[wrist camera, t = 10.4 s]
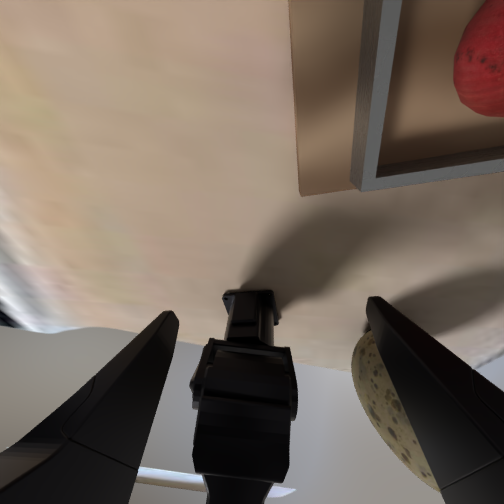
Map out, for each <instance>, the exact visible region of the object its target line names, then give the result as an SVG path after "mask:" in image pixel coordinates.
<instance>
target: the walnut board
mask: <svg viewBox="0 0 504 504" xmlns="http://www.w3.org/2000/svg"><path fill="white" fill-rule="evenodd" d="M485 1H486V0H402V4H401V11H400V18H399V24H398V31H397V38H396V44H395V51H394V58H393V64H392V71H391V78H390V84H389V91H388V98H387V104H386V111H385V118H384V124H383V131H382V138H381V144H380V151H379V158H378V164H377V166H380V165H386V164H392V163H398V162H405V161H411V160H417V159H423V158H429V157H435V156H442V155H448V154H454V153H460V152H466V151H472V150H479V149H485V148H491V147H497V146H503V145H504V117H488V116H484V115H481V114H478V113H476V112H474V111H473V110H471V109H470V108H468V107H467V106H465V105H464V104H462V103H461V101H460V99H459V96H458V94H457V91H456V88H455V86H454V82H453V69H454V55H455V53H456V50H457V48H458V45H459V42H460V40H461V37H462V35H463V32H464V30H465V27H466V26H467V24H468V23H469V22H470V20H471V19H472V18H473V16H474V15H475V14H476V13H477V11H478V10H479V9H480V7H481V6H482V5H483V3H484V2H485ZM288 2H289V20H290V38H291V56H292V74H293V92H294V110H295V127H296V145H297V163H298V181H299V192H300V195H301V197H303V196H310V195H317V194H323V193H330V192H337V191H344V190H350V189H357V188H356V187H355V186H354V185H353V184H352V183H351V182H350V181H349V180H350V168H351V155H352V143H353V131H354V118H355V106H356V94H357V81H358V69H359V57H360V44H361V32H362V20H363V7H364V0H288Z"/></svg>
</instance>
